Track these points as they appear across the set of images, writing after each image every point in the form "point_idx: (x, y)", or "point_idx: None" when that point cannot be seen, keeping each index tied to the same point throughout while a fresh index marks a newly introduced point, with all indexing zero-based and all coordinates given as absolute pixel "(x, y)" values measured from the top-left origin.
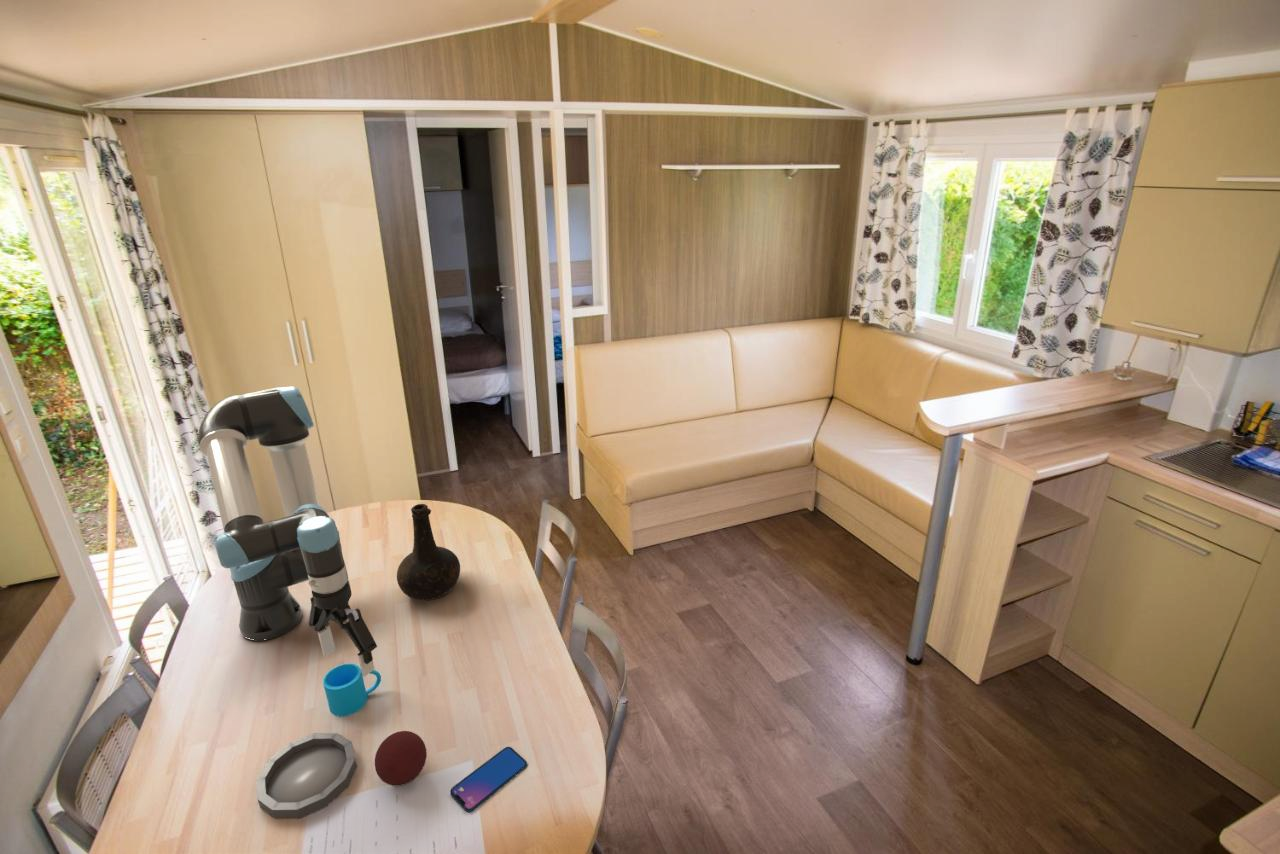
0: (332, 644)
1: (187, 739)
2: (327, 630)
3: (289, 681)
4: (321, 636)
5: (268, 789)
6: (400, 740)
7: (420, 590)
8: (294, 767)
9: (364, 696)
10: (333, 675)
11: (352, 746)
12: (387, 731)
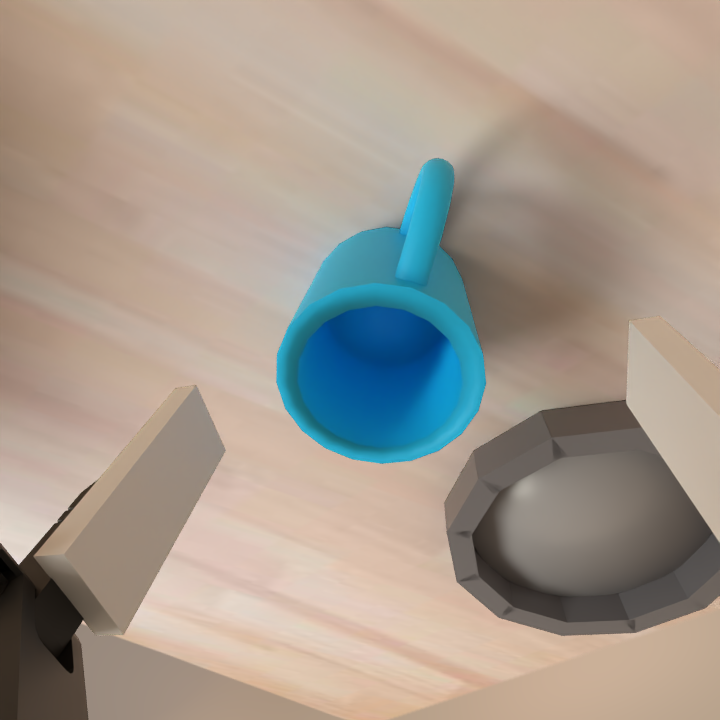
0: (177, 430)
1: (187, 606)
2: (93, 560)
3: (109, 391)
4: (139, 591)
5: (527, 586)
6: None
7: None
8: (520, 530)
9: (451, 266)
10: (307, 382)
11: None
12: (687, 275)
